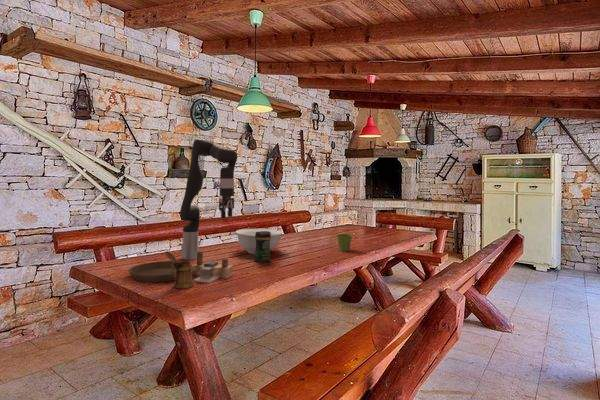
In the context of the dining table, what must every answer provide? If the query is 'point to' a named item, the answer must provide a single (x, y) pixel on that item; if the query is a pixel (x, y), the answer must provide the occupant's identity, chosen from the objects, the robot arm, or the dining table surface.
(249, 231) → the bowl
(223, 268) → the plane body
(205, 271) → the lever cap
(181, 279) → the turkish coffee pot
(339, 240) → the plant pot
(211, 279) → the stone tile
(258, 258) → the coffee jar
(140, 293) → the dining table surface
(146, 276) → the plant saucer
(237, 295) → the dining table surface
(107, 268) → the dining table surface
